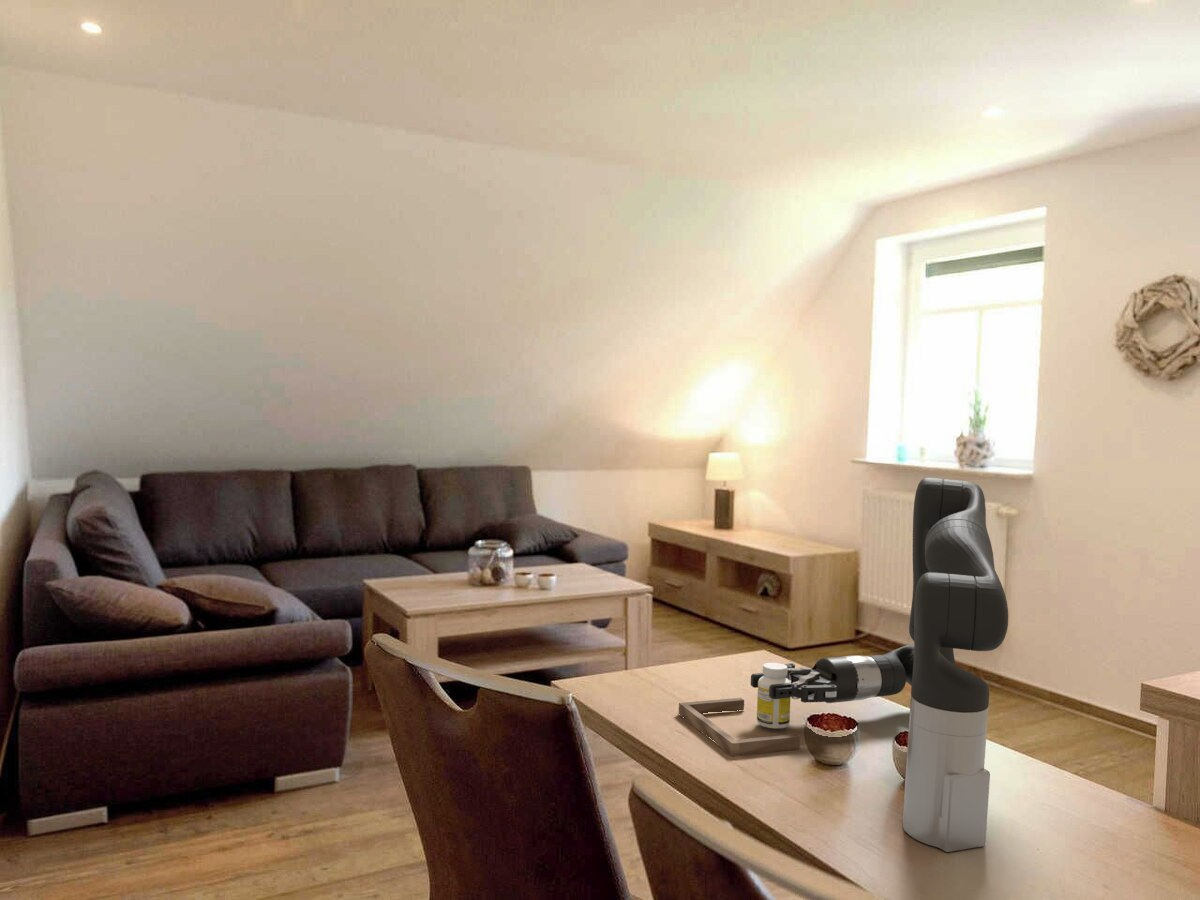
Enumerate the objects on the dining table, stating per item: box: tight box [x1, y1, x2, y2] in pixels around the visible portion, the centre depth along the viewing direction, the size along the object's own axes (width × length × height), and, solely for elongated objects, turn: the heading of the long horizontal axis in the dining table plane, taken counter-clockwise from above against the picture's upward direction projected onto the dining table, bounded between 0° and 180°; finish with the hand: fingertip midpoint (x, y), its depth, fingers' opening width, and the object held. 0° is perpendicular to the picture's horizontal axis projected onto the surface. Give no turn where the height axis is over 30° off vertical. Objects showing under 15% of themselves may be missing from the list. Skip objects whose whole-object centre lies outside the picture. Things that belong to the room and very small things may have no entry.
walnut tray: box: [678, 697, 801, 757], centre depth 151 cm, size 19×12×2 cm, turn 20°
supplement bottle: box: [756, 662, 791, 729], centre depth 153 cm, size 5×5×10 cm
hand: (761, 686), depth 152 cm, fingers closed on supplement bottle, 5 cm apart
